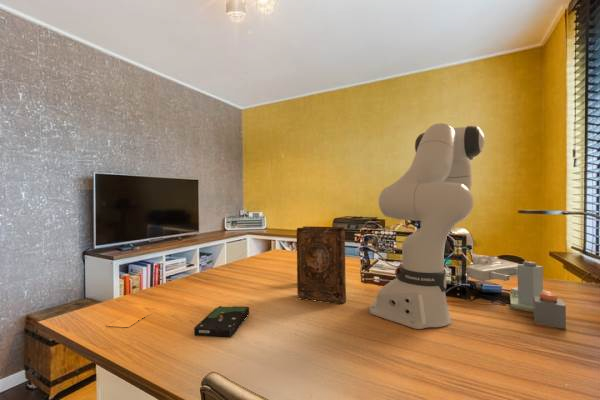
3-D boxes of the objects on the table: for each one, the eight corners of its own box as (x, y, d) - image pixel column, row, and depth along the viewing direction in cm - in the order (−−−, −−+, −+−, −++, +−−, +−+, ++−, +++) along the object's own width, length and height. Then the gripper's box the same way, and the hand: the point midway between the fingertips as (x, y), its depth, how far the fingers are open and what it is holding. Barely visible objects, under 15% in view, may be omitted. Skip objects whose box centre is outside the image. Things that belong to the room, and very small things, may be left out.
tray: (511, 308, 85) (511, 303, 85) (510, 298, 93) (509, 293, 93) (554, 315, 79) (554, 310, 79) (549, 304, 87) (549, 299, 87)
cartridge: (518, 302, 88) (517, 261, 88) (527, 300, 89) (526, 260, 89) (533, 307, 83) (533, 264, 83) (543, 305, 85) (542, 263, 85)
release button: (540, 315, 75) (540, 295, 75) (539, 311, 78) (538, 291, 78) (558, 319, 73) (558, 297, 73) (556, 314, 76) (556, 293, 76)
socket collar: (510, 293, 98) (510, 288, 98) (526, 290, 100) (525, 285, 100) (536, 301, 90) (536, 295, 90) (552, 297, 93) (552, 292, 93)
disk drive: (231, 340, 70) (249, 314, 85) (231, 329, 70) (249, 305, 85) (193, 338, 71) (217, 313, 86) (193, 328, 71) (217, 304, 86)
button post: (535, 323, 75) (535, 301, 75) (533, 315, 80) (533, 294, 80) (566, 329, 71) (565, 305, 71) (561, 320, 76) (561, 298, 76)
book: (347, 299, 95) (346, 227, 95) (343, 305, 90) (342, 228, 90) (303, 293, 101) (302, 226, 101) (297, 299, 96) (296, 227, 96)
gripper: (456, 261, 99) (495, 270, 86) (497, 256, 106) (538, 263, 93) (457, 278, 99) (495, 290, 86) (497, 272, 106) (538, 282, 93)
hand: (518, 276), depth 90 cm, fingers open, 8 cm apart
